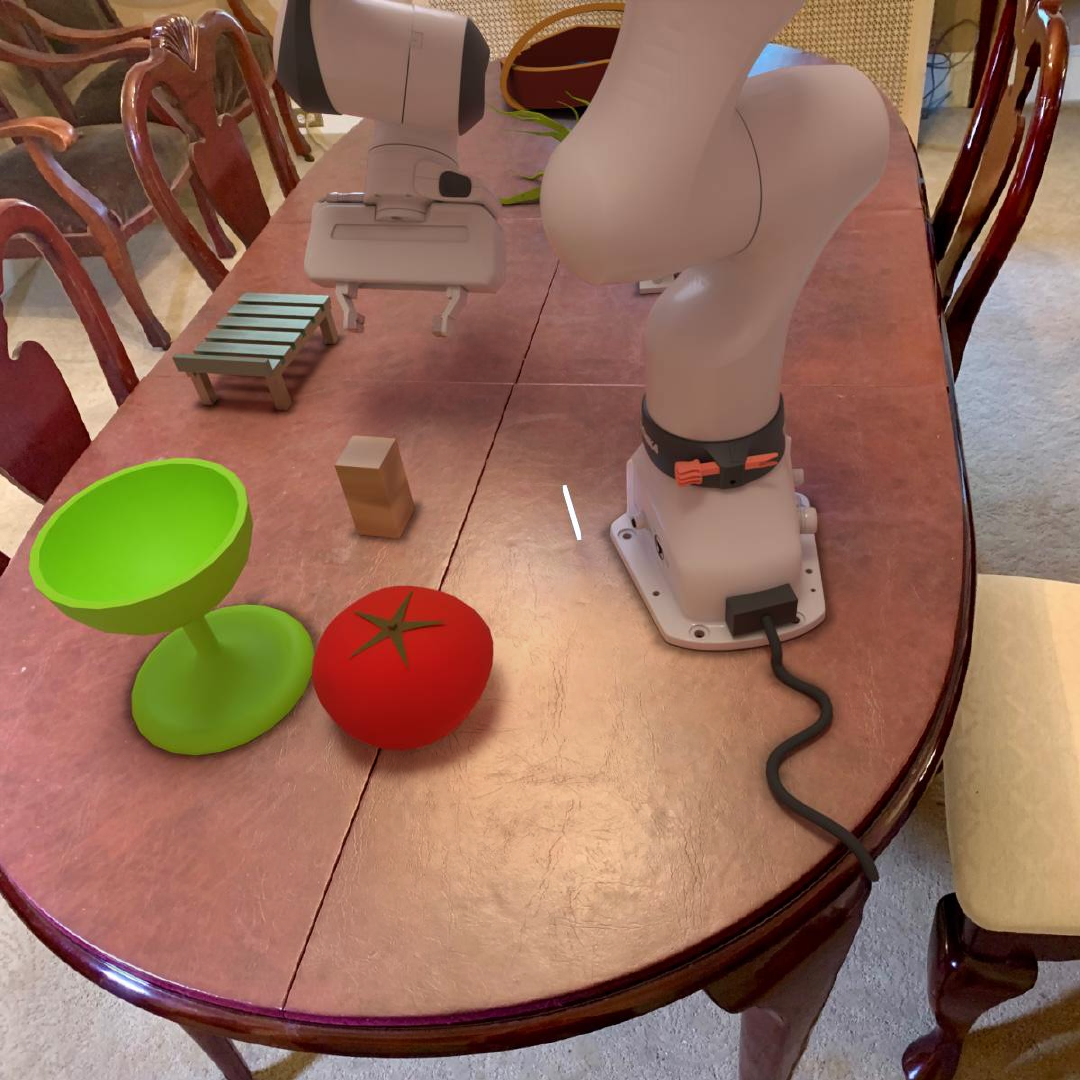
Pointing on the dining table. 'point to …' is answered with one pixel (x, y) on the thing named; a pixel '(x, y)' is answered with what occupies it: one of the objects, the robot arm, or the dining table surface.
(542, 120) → the decorative plant
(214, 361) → the rack
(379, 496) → the block
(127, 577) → the wineglass
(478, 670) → the tomato
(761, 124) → the robot arm
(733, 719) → the dining table surface
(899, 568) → the dining table surface
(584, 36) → the decorative basket
